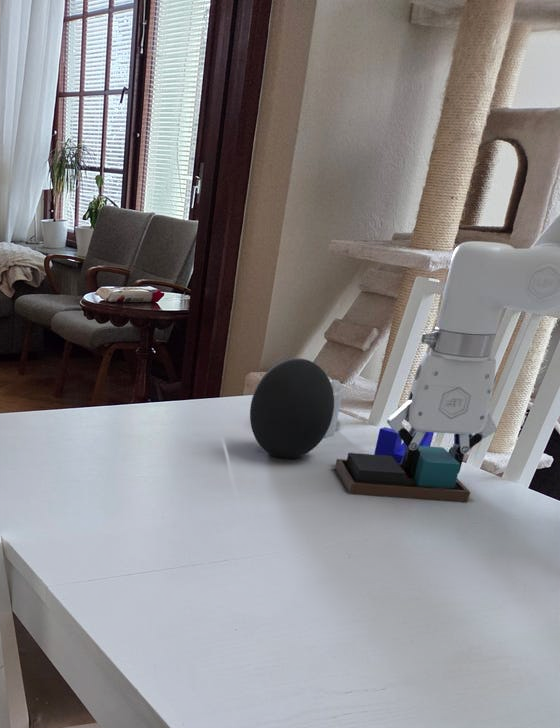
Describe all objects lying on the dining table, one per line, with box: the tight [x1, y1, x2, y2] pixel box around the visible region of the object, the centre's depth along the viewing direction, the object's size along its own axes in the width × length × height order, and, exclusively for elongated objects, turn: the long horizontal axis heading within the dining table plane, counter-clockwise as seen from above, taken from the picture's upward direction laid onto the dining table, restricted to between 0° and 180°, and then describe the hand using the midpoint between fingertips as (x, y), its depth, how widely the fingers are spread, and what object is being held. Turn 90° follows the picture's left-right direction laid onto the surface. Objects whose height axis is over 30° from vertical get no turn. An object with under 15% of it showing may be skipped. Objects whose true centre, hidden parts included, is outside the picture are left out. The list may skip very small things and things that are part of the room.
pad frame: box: [334, 458, 471, 503], centre depth 123 cm, size 16×11×2 cm
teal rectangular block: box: [412, 446, 461, 488], centre depth 121 cm, size 5×8×4 cm, turn 176°
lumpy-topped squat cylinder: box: [323, 375, 344, 439], centre depth 147 cm, size 10×13×9 cm
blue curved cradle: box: [373, 426, 435, 463], centre depth 132 cm, size 12×4×6 cm, turn 133°
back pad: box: [346, 452, 406, 486], centre depth 123 cm, size 6×8×3 cm
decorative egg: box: [249, 357, 334, 460], centre depth 130 cm, size 12×12×15 cm
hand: (428, 475), depth 122 cm, fingers closed on teal rectangular block, 5 cm apart
